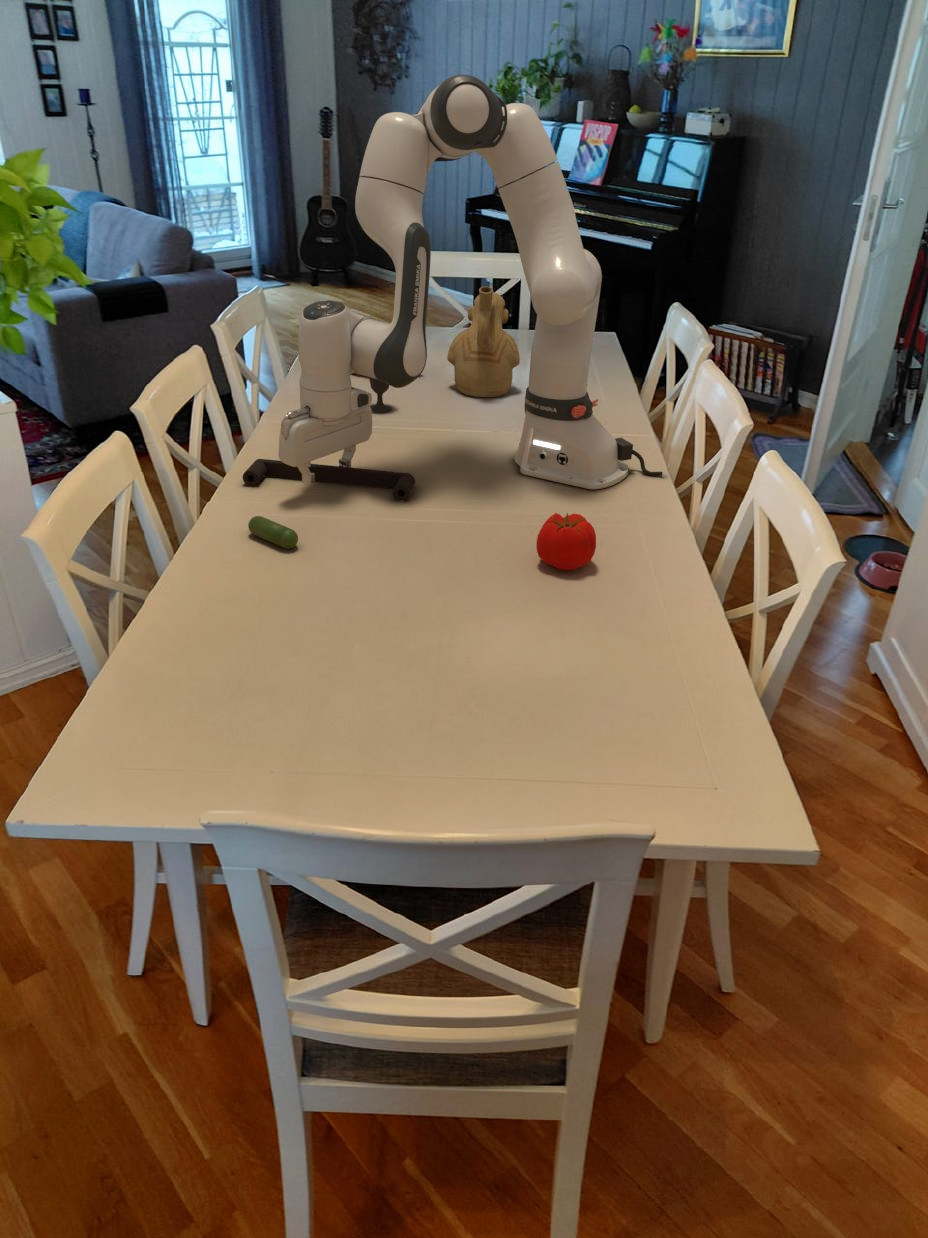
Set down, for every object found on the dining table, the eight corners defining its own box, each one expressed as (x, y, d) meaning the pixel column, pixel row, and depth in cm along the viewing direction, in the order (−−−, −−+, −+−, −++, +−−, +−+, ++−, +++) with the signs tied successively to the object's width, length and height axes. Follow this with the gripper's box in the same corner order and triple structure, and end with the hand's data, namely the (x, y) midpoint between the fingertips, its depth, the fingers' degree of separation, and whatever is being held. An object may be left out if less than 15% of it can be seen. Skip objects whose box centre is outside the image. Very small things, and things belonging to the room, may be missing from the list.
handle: (243, 485, 168) (241, 469, 166) (254, 472, 173) (253, 457, 172) (409, 501, 165) (409, 486, 163) (415, 488, 170) (415, 473, 169)
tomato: (578, 547, 152) (583, 505, 148) (601, 573, 145) (607, 529, 141) (524, 553, 149) (528, 510, 145) (545, 579, 142) (550, 535, 138)
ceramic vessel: (519, 380, 229) (527, 273, 216) (514, 405, 212) (522, 292, 199) (451, 375, 230) (454, 269, 217) (440, 400, 213) (444, 286, 200)
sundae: (394, 414, 204) (394, 345, 196) (363, 413, 204) (362, 343, 196) (396, 404, 209) (396, 337, 202) (366, 403, 209) (365, 335, 202)
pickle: (302, 547, 148) (301, 529, 146) (288, 554, 146) (286, 535, 144) (259, 528, 153) (258, 510, 151) (244, 535, 151) (243, 517, 149)
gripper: (295, 418, 152) (298, 497, 159) (378, 392, 166) (377, 465, 173) (268, 409, 155) (272, 487, 162) (352, 384, 170) (352, 456, 177)
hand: (327, 475), depth 168 cm, fingers open, 8 cm apart
